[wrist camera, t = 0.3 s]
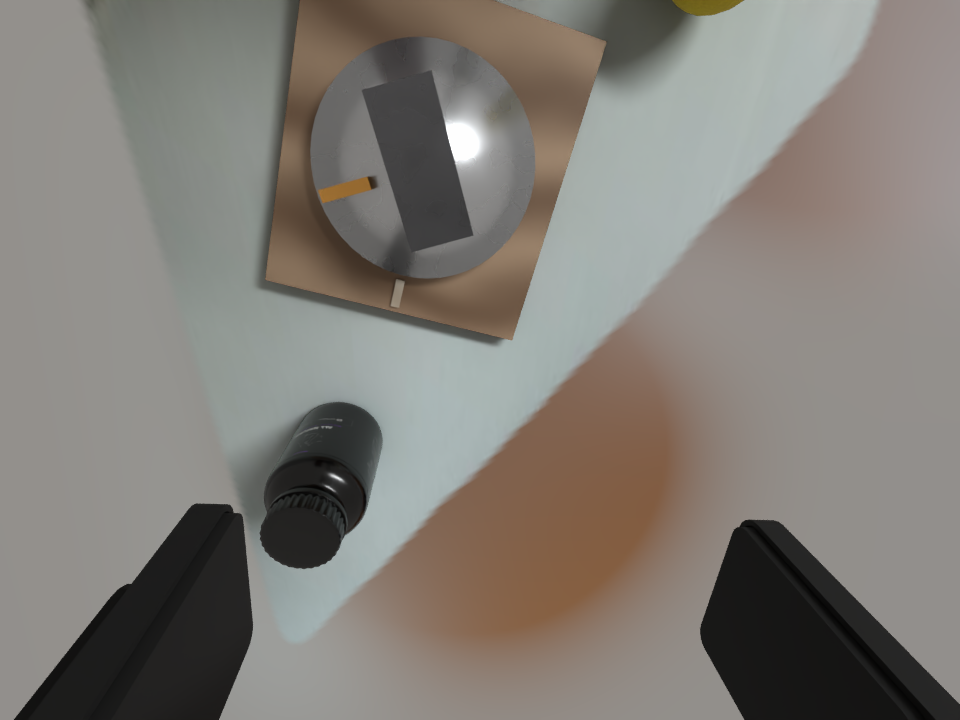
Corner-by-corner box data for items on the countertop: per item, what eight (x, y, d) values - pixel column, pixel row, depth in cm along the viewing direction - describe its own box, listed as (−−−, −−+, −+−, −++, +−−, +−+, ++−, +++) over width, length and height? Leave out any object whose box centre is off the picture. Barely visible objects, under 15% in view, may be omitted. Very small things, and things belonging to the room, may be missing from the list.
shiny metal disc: (505, 12, 28) (524, -36, 22) (551, 245, 33) (577, 263, 27) (278, 76, 29) (230, 48, 22) (358, 297, 34) (338, 328, 27)
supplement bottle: (328, 383, 38) (280, 471, 27) (399, 428, 40) (382, 527, 29) (283, 444, 40) (220, 550, 28) (353, 484, 42) (321, 598, 30)
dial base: (314, -56, 28) (307, -69, 26) (599, 47, 31) (607, 40, 29) (272, 275, 35) (264, 280, 33) (509, 334, 37) (512, 341, 36)
